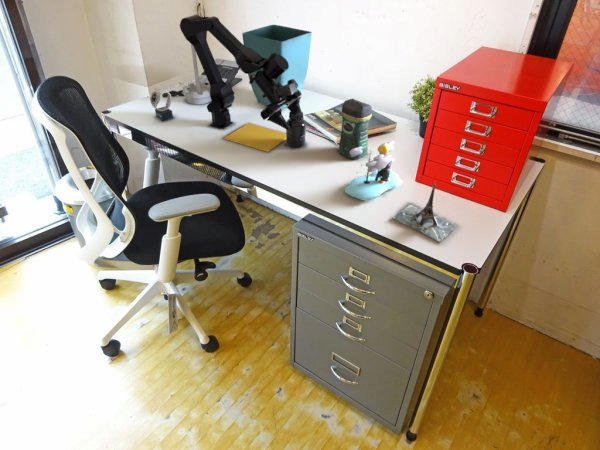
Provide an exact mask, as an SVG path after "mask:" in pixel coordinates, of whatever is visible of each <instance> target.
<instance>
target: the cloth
mask: <svg viewBox="0 0 600 450" xmlns="http://www.w3.org/2000/svg"><path fill="white" fill-rule="evenodd" d="M224 140H227V141H231V142H234V143H237V144H241V145H243V146H247V147H249V148H253V149H256V150H260V151H264V152H267V153H268V152H270V151H271V150H273V149H274V148H276V147H277V146H278V145H280V144H282V142H284V141H286V132H281V131H279V130H274V129H270V128H267V127H265V126H264V127H263V126H260V125H256V124H253V123H250V122H249V123H247V124H245V125H243V126H241V127H240V128H238V129H236V130H235V131H233V132H231V133H230V134H228V135H226V136H225V137H224Z"/></svg>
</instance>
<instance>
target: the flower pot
mask: <svg viewBox="0 0 600 450" xmlns="http://www.w3.org/2000/svg"><path fill="white" fill-rule="evenodd" d="M241 35H242V44H243V45H244V46H246V47H248V48H251V49H253V50H254V51H256V52H257V53H258V54H259V55H260V56H261V57H264V58H267V59H268V58H269V57H270V55H271V54H272V53H274V52H276V53H277V54H278V55H281V56H283V57H284V58H285V59H286V60H287V61H288V64H289V68H288V69H287V70H286V71H285V72H284V73H283V74H282V75H281V76H280V77H279V78H278V79H274V80H275V82H276V83H277V84H278V83H281V84H282V86H284V85H286V84H287V82H288V81H289V80H291V79H294V80H295V81H296V82H297V84H298V87H297V90H299V91H300V92H301V93H302V91H303V88H304V85H305V82H306V78H307V74H308V68H309V60H310V52H311V51H310V50H311V44H312V43H311V42H312V35H313V34H312V31H309V30H304V29H299V28H295V27H291V26H290V27H289V26H284V25H280V24H279V25H278V24H269V25H266V26H262V27H258V28H254V29H251V30H248V31H244V32H242V33H241ZM260 70H263V68H262V69H260ZM260 70H258V71H260ZM258 71H255V72H253V73H251V74H247V75H248V79H249V81H250V75H253V74H254V75H255V74H256V73H257V72H258ZM250 86H251V89H252V92H253V94H254V96H255V99H256V101H257V103H259V104H261V105H265V106H268V105H270V104H271V103H270V102H269V101H268V99H267V98H263V97H262V96H263V95H264V94H263V92H262V91H261V90H260V88H259V87H258V85H257V84H256V83H255V82H254V83H252V84H250ZM299 97H300V96H299ZM299 97H298V98H299ZM287 107H288V106H287V105H284V106H282V107H280V108H279V109H281V110H283V109H285V108H287ZM279 109H278V110H279Z"/></svg>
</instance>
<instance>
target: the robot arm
mask: <svg viewBox="0 0 600 450" xmlns="http://www.w3.org/2000/svg"><path fill="white" fill-rule="evenodd" d="M179 28H180V31H181V33H182V35H183V37H184V39H185V40H186V41H187V42H189V43H190V45H191V44H192V45H193V46H194V48H195V51H196V56H197V58H198V61H199V62H200V65H201V67H202V70H203V72H204V74H205V77H206V79H207V81H208V84H210V97H211V100H212V101H210V102H209V103H207V105H206V110H207V112H208V113H211V121H212V122H211V123H209V126H211V127H215V128H218V129H221V130H224V129H225V128H227V127H230V126H231V125H233V123H234V122H233V121H232V119H231V113H230V109H229V108H231V107H232V105H233V104H234V101H235V99H236V97H235V95H236V93H235V91H234V90H233V87H232V84H231V83H226V81H224V80H223V78H222V75H221V72H220V70H219V67H218V65H217V63H216V61H215V58H214V55H213V53H212V50H211V47H210V46H209V43H208V41H207V38H208V32H209V33H210V34H211V35H212V36H213V37H214V38H215V39H216V41H218V42H219V43H220V44H221V46H223V47H224V48H225V49H226V50H227V51H228V52H229V54H231V55H232V56H233V57H234V60H235V63H236V65H237V66H238V68H239V69H240V70H241V71H242V72H243V74H247V75H248V74H251V73H253V72H255V71H258V70H260V69H262V68H263V70H260V71H258V72H257V73H256V74H255V75H254V74H253V75H250V80H249V83H248V84H249V85H251V84H252V83H254V82H255V83H256V84H257V85H258V87H259V88H260V90H261V91H262V92H263V94H264V95H263V96H262V97H263V98H267V99H268V101H269V102H270V103H271V104H270V105H266V106H265V107H264V108H263V109H262V110H261V111H260V117H261V119H262V120H263V121H265V120H266V121H267V122H272V123H274V124H275V125H277V126H279V127H282V128H283V129H285V131H286V130H289V129H290V127H289V125H288V124H287V120H286V119H285V117H284V116H283V113H282V112H283V111H282V109H279V108H280V107H282V106H284V105H287V106H286V108H287V109H288V110H289V112H291V111H294V110H298V111H302V109H301V105H300V101H301V99H302V91H301V92H300V91H299V90H297V87H298V84H297V82H296V81H295V80H294V79H291V80H289V81H288V82H287V84H286V85H284V86H282V84H281V83H278V84H277V83H276V82H275V80H274V79H278V78H279V77H280V76H281V75H282V74H283V73H284V72H285V71H286V70H287V69H288V68H289V64H288V61H287V60H286V59H285V58H284V57H283V56H281V55H278V54H277V53H276V52H274V53H272V54H271V55H270V57H269V58H268V59H267V58H264V57H261V56H260V55H259V54H258V53H257V52H256V51H254V50H253V49H251V48H248V47H246V46H244V43H243V42H241V41H240V40H239V38H237V37H236V36H235V35H234V34H233V33H232V32H231V31H230V30H229V29H228V28H227V27H226V26H225V25H224V24H223V23H222V22H221V21H220V19H219V17H217V16H201V15H198V14H193V15H189V16H186V17H183V18H182V19H181V20H180V22H179ZM298 97H299V98H298ZM303 119H304V120H305V118H304V117H303Z"/></svg>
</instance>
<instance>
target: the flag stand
mask: <svg viewBox="0 0 600 450" xmlns="http://www.w3.org/2000/svg"><path fill="white" fill-rule="evenodd" d="M190 48H191V56H192V65H193V71H194V80H195V82H188V83H187V85H188V86H187V85H185V84H184V85H183V86H182V88H181V89H182V95H183V96H184V97H185V100H186V102H187V103H189V104H191V105H206V104H209V103H210V102H211V101H212V100H211V97H210V84H209V83H207V84H206V81H200V76H199V68H198V60H197V53H196V51H195V48H194V46H193V45H192V44H191V43H190Z"/></svg>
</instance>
